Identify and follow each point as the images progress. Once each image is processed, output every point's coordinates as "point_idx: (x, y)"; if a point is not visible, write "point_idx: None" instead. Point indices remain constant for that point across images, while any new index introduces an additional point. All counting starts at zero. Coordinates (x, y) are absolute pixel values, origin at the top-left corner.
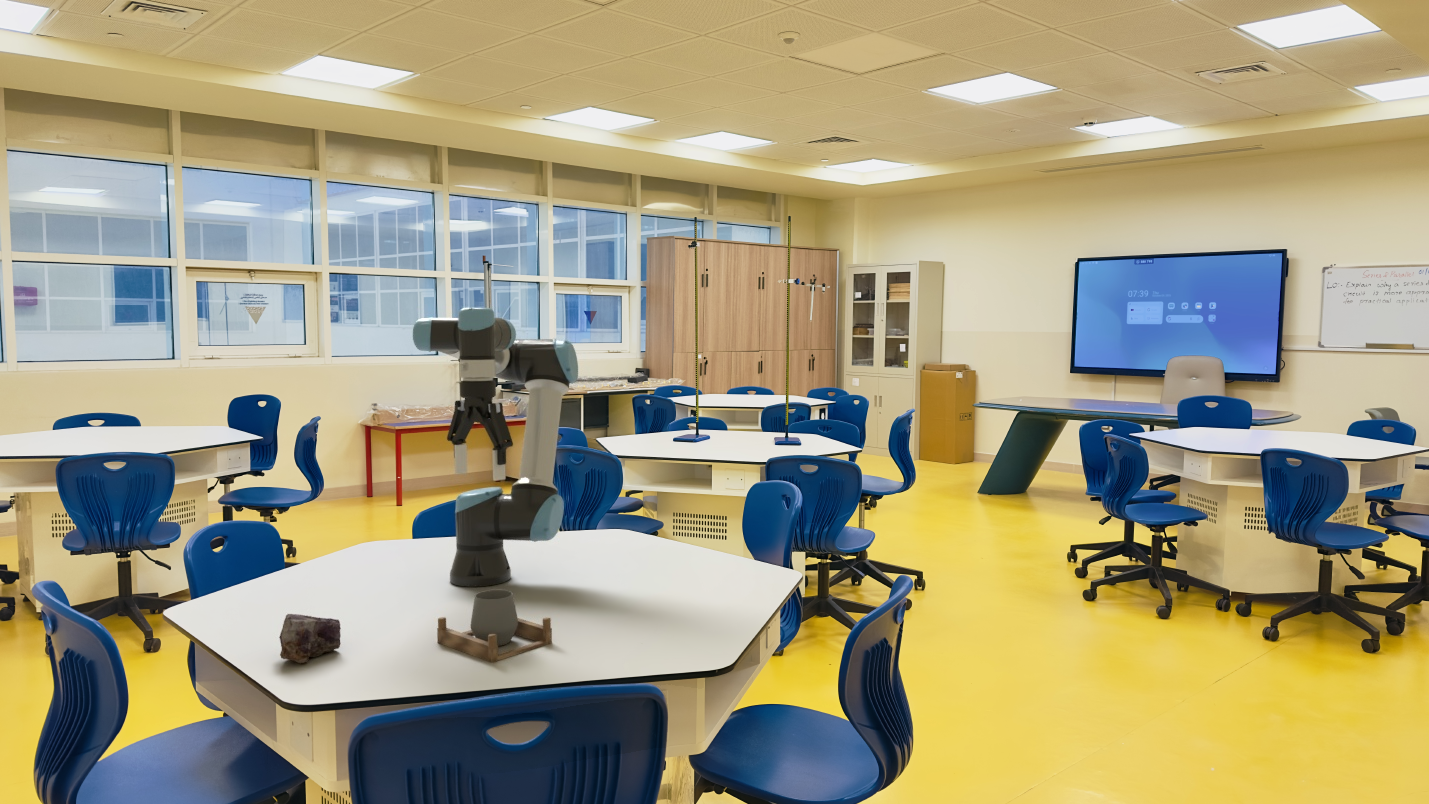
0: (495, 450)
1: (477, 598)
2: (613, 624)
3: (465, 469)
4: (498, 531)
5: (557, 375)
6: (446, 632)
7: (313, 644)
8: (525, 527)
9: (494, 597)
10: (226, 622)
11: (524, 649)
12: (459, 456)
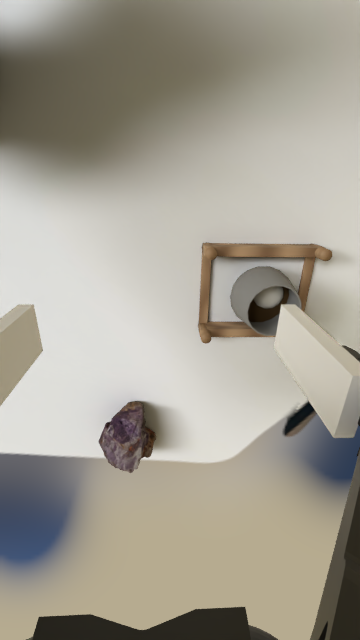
0: (354, 431)
1: (267, 335)
2: (348, 121)
3: (28, 320)
4: None
5: None
6: (219, 336)
7: (143, 432)
8: None
9: (250, 290)
10: None
11: (308, 287)
12: (3, 383)
